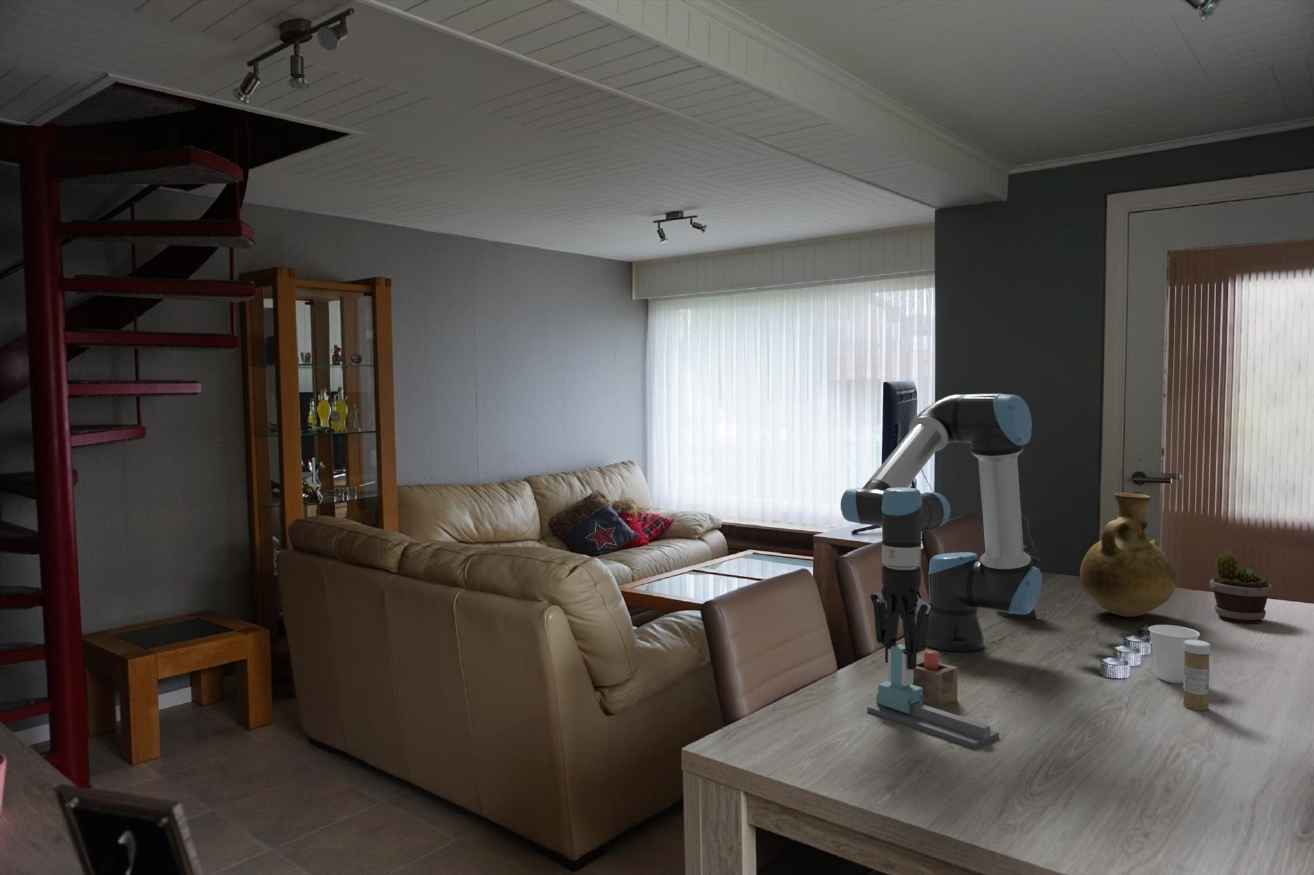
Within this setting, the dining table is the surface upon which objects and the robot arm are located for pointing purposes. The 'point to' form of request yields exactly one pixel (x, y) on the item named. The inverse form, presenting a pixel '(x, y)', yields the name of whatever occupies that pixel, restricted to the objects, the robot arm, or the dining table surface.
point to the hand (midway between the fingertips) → (900, 682)
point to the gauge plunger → (931, 660)
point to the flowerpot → (1239, 591)
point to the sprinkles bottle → (1196, 674)
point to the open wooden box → (936, 684)
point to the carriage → (898, 686)
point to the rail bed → (931, 727)
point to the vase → (1127, 563)
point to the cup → (1170, 650)
